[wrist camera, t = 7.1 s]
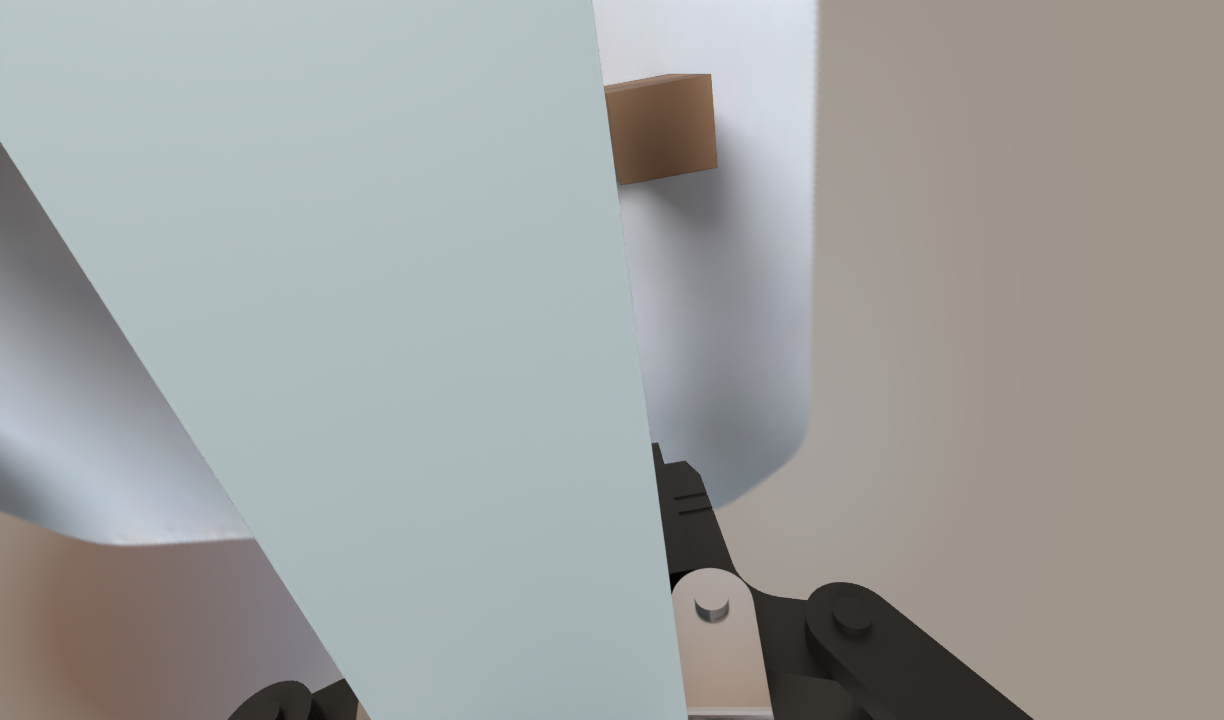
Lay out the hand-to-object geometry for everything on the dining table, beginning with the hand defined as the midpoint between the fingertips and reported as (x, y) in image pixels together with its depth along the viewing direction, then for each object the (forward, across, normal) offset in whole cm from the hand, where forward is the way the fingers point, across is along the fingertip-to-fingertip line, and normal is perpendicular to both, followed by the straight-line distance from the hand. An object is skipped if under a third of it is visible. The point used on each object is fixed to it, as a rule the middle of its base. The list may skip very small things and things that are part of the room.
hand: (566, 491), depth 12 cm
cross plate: (+2, 0, -5) cm, 5 cm away
